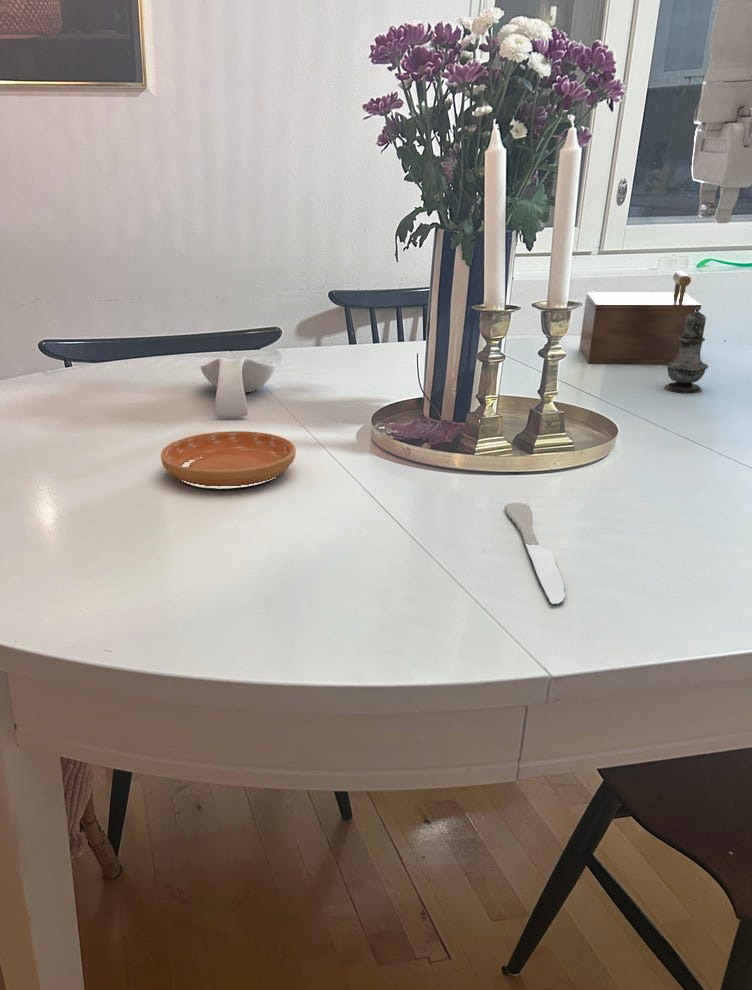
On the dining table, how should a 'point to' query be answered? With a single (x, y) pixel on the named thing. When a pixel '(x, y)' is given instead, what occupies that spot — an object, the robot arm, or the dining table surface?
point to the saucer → (228, 458)
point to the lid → (647, 298)
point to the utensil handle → (522, 521)
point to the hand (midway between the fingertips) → (713, 220)
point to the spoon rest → (236, 382)
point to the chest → (631, 335)
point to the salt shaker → (688, 356)
